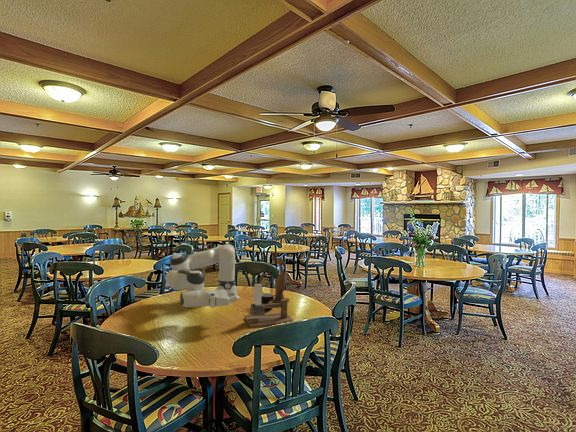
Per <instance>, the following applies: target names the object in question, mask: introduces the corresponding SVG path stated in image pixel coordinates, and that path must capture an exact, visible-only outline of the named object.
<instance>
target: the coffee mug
mask: <svg viewBox="0 0 576 432" xmlns="http://www.w3.org/2000/svg"><path fill="white" fill-rule="evenodd" d="M275 296H276V295H275V293H274V294H273V293H270V292H269V293H268V292H264V293H263V292H262V297H261V303H262V304H273V303H274V302H275V301H276V299H277V296H276V299H275V301H274V302H273V298H274V297H275ZM270 310H272V311H273V308H266V309H265V311H270ZM270 312H271V311H270Z"/></svg>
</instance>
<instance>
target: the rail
mask: <svg viewBox="0 0 576 432" xmlns="http://www.w3.org/2000/svg"><path fill="white" fill-rule="evenodd" d="M262 290H263V285H262V284H261V283H254V286H253V304H254V307H258V306H261V297H262V294H263V292H262Z"/></svg>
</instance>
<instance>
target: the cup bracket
mask: <svg viewBox="0 0 576 432" xmlns="http://www.w3.org/2000/svg"><path fill="white" fill-rule="evenodd" d="M266 308H272V309H275V308H276V309H277V308H280V312H277V313H266V312H265V309H266ZM250 314H251V315H244V319H245V322H246V323H247V325H248V328H249V329H252V328H253V329H255V328H265V327H272V326H271V325H276V324H281V323H287V322H292V321H294V319H293V318H292V317H291V316H290V315H289V314H288V301H287V300H286V299H281V303H274V304H262V303H261V306H258V307H254V303H250Z"/></svg>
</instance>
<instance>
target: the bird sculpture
mask: <svg viewBox="0 0 576 432" xmlns="http://www.w3.org/2000/svg"><path fill="white" fill-rule="evenodd" d="M277 263H278V267H279V273H280V274H279V275H277V277H276V278H275V284H274V285H275V288H274V289H275V292H274V295H276V296H277V299H276V296H274V298H273V302H274V301H275V299H276V301H275V302H274V303H281V299H286V300H289V301H290V298H286V297H285V295H284V291H285V289H286V286H285V285H286V283H285V281H286V274H285V271H284V267H283V266H286V261H285V260H283V258H282V257H278V259H277Z"/></svg>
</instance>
